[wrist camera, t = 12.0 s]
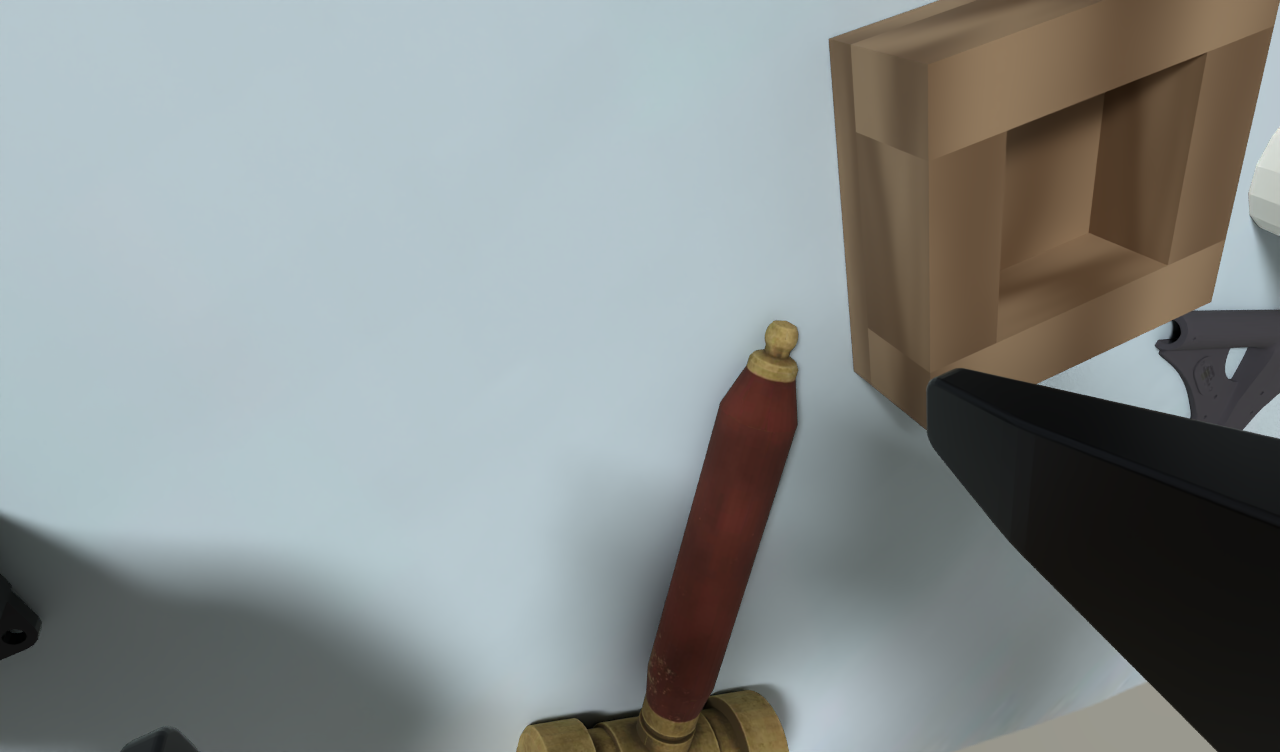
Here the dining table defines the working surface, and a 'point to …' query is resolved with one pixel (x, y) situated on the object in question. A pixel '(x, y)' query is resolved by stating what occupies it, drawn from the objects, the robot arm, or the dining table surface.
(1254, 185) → the white cylinder
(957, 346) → the socket block
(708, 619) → the gavel
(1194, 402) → the bracket
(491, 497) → the dining table surface
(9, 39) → the dining table surface
